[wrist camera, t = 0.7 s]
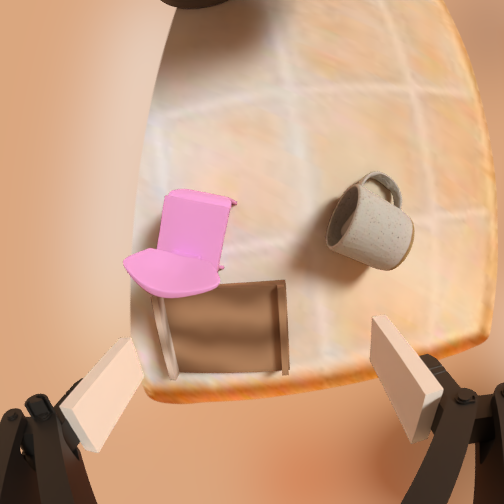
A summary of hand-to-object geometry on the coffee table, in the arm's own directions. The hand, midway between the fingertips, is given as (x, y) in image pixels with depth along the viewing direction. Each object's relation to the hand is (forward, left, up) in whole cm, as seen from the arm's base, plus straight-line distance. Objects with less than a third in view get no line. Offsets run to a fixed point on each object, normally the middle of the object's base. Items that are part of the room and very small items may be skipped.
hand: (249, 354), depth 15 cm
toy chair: (-4, -6, -22) cm, 23 cm away
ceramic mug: (-4, +13, -22) cm, 26 cm away
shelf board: (+9, -5, -21) cm, 24 cm away
